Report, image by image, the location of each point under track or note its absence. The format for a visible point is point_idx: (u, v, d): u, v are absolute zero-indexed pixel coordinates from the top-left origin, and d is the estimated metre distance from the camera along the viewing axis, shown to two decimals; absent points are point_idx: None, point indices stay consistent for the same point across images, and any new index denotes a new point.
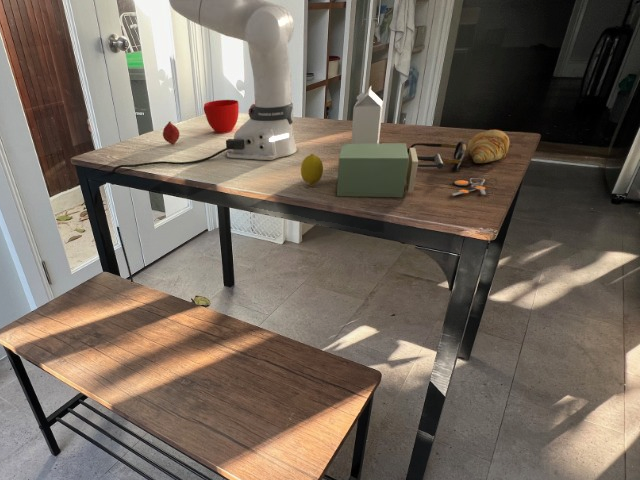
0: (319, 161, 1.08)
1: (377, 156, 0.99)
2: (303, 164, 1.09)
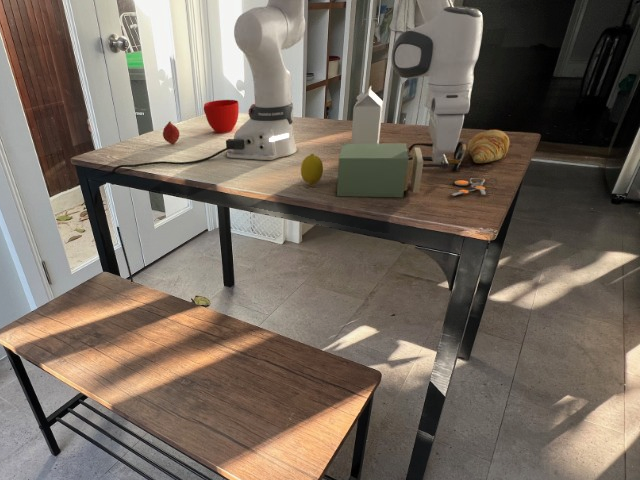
0: (319, 161, 1.08)
1: (377, 156, 0.99)
2: (303, 164, 1.09)
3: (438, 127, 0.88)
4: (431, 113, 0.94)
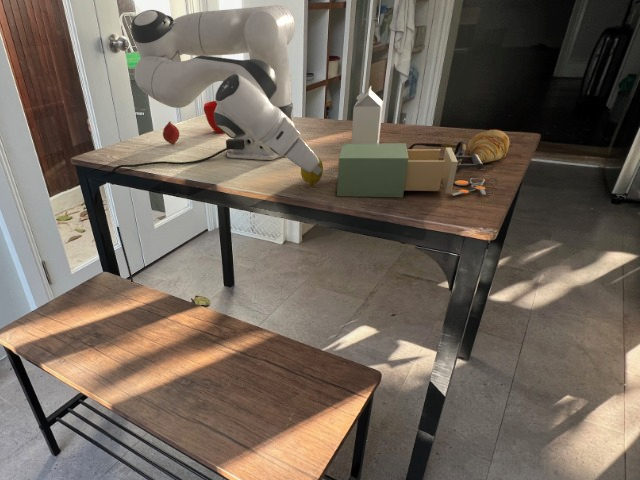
0: (319, 161, 1.08)
1: (377, 156, 0.99)
2: None
3: (293, 161, 0.98)
4: None
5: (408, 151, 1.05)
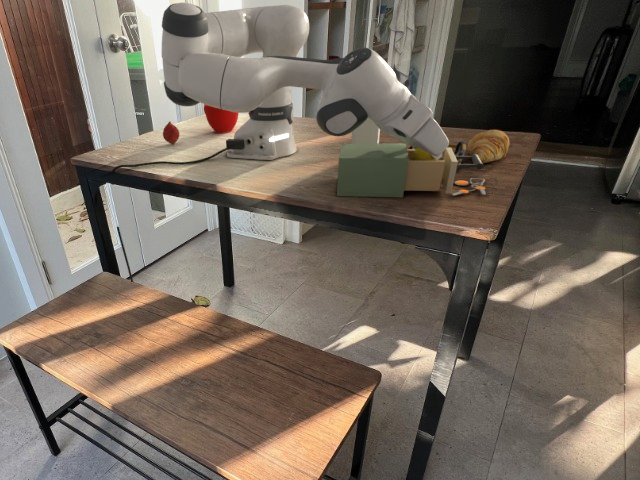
0: None
1: (377, 156, 0.99)
2: None
3: (422, 143, 0.88)
4: None
5: (408, 151, 1.05)
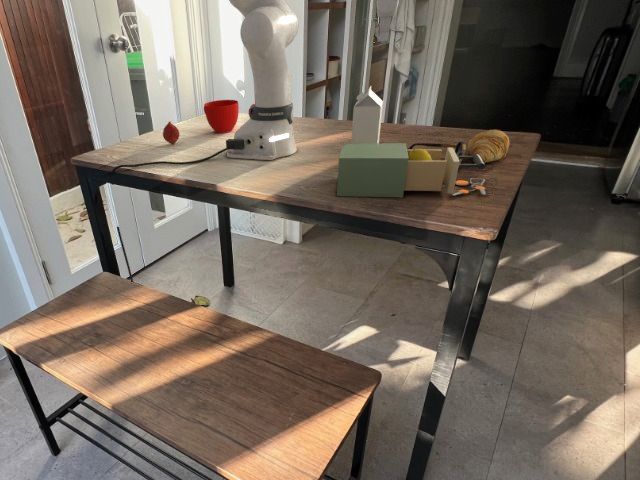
0: (424, 153, 0.98)
1: (377, 156, 0.99)
2: None
3: None
4: None
5: (410, 151, 1.05)
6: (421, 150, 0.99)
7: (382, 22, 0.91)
